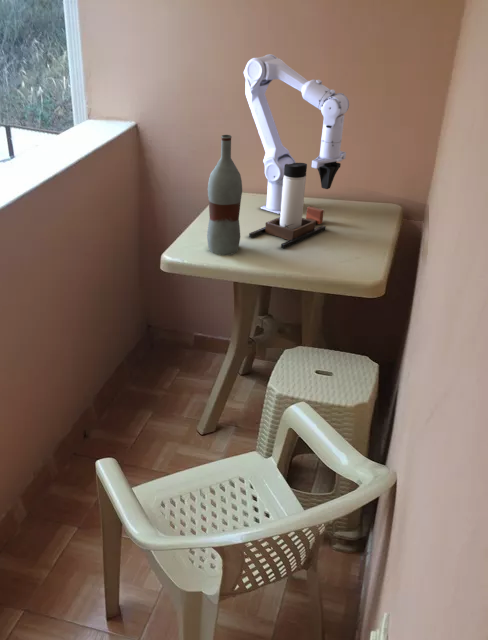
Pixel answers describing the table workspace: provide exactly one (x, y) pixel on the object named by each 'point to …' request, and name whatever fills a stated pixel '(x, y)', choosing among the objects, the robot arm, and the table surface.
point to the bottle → (224, 203)
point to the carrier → (307, 225)
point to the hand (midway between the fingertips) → (325, 188)
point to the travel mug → (293, 195)
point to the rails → (292, 241)
